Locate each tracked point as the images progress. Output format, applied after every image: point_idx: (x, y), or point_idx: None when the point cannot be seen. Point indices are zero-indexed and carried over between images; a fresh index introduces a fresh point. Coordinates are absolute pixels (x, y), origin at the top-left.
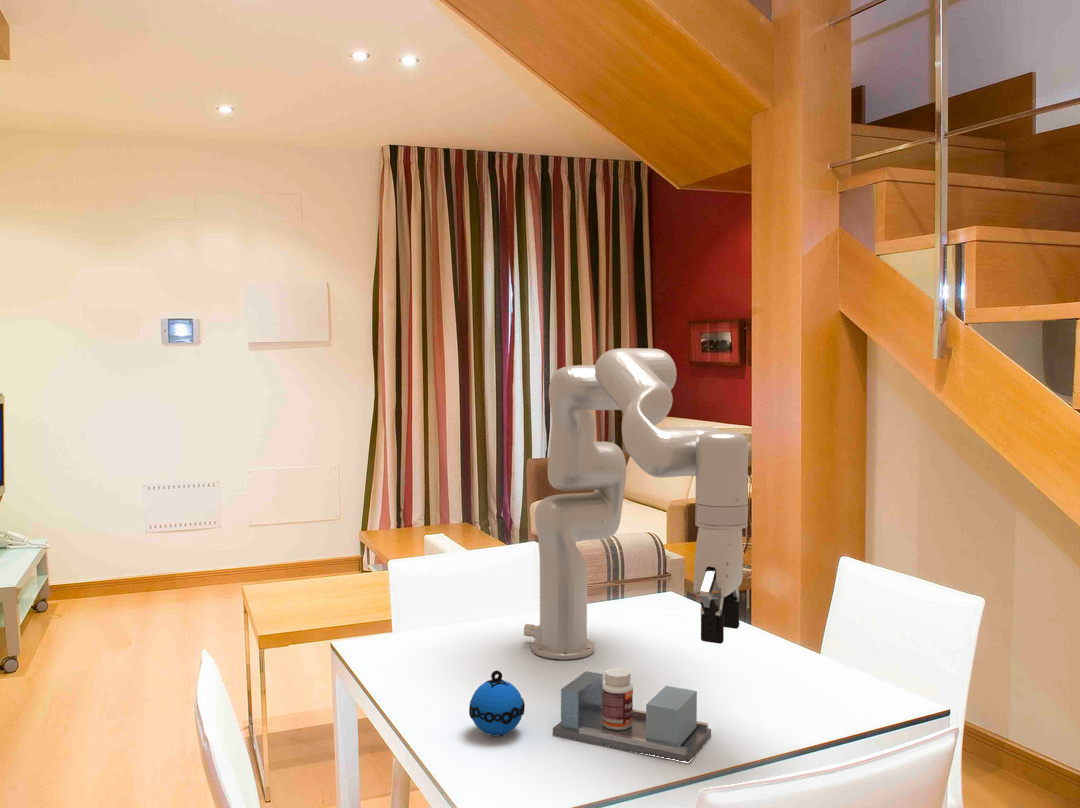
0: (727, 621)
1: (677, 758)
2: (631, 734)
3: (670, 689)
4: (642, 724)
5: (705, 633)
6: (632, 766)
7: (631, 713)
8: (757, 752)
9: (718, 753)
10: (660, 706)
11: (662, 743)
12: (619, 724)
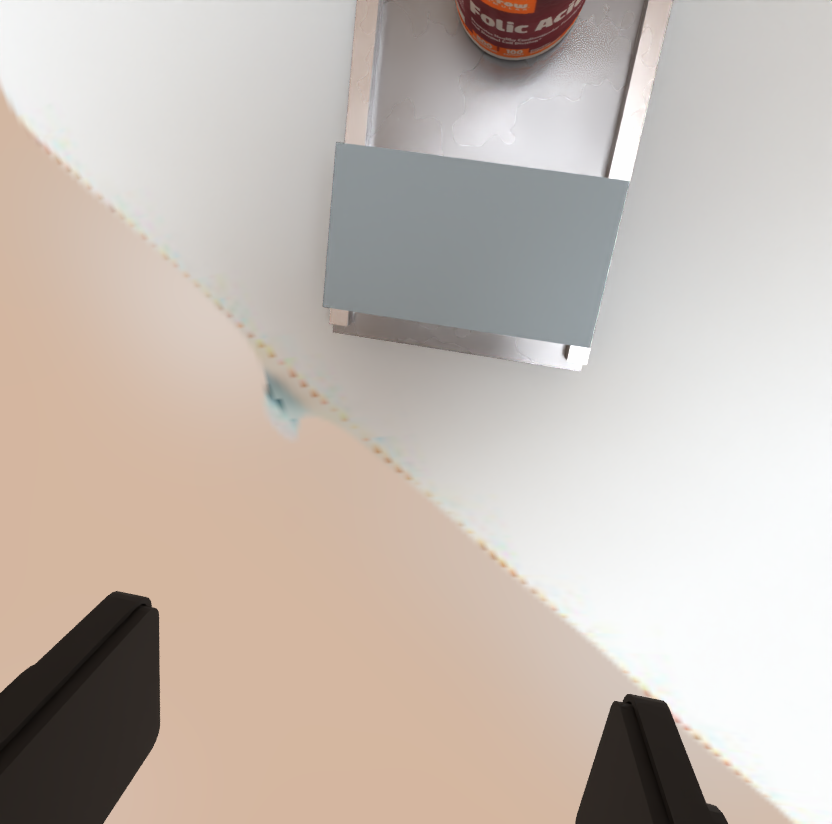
0: (606, 814)
1: None
2: (440, 84)
3: (576, 216)
4: (553, 101)
5: (18, 679)
6: (256, 154)
7: (510, 42)
8: (494, 508)
9: (449, 403)
10: (334, 218)
11: None
12: (458, 10)
